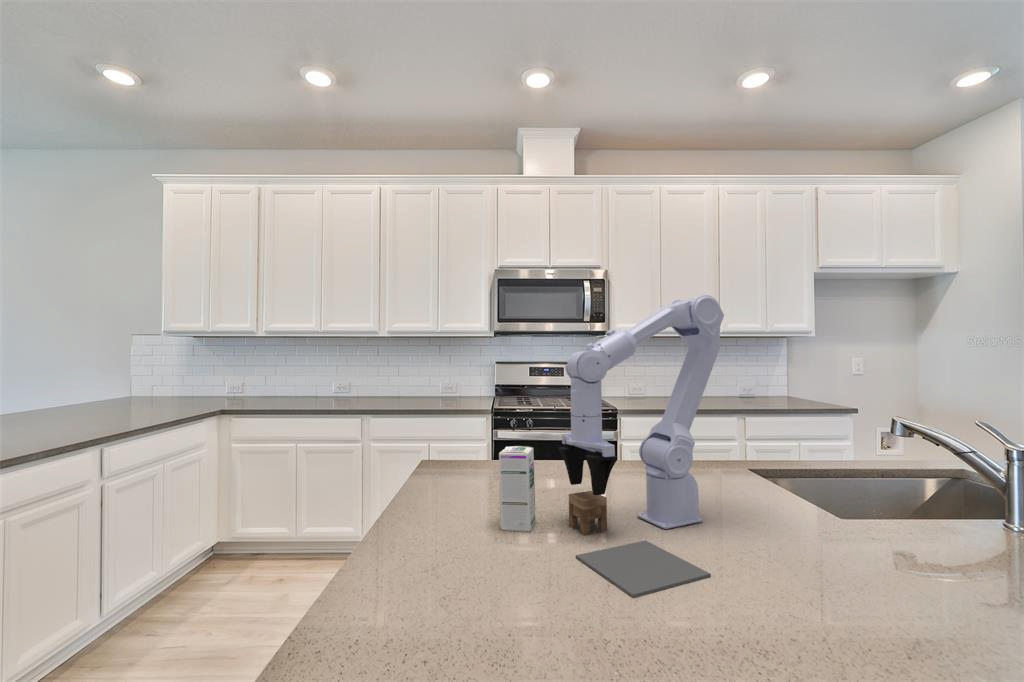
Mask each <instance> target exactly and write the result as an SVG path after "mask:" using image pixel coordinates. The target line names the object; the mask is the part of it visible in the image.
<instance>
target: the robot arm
mask: <svg viewBox="0 0 1024 682" xmlns="http://www.w3.org/2000/svg"><path fill="white" fill-rule="evenodd" d="M724 317H725V314H724V311H723V310H722V308H721V306H720V304H719V301H717V299H716V298H715V297H713V296H712V295H709V294H702V295H699V296H697V297H691V298H686V299H677V300H676V299H675V300H674V301H672V302H671V303H669V304H667V305H663V306H662V307H660V308H659V309H657V310H656V311H654V312H653V313H652V314H650V315H649V316H647V317H646V318H644V319H642V320H641V321H640V322H638V323H637V324H635V325H634V326H632V327H631V328H629V329H628V330H623V329H620V328H619V329H616V330H615V329H609V330H607V331H606V332H605V335H606V336H604V337H602V338H601V339H599V340H597V341H596V342H594V343H593V342H590V343H588V344H586V345H585V346H586V350H584V351H583V350H582V351H581V350H580V351H576V352H574V353H572V355H570V356H569V359H568V360H567V364H566V365H565V367H564V369H565V372H566V375H567V376H568V378H569V379H570V433H569V432H568V433H561V443H562V444H563V445H564V446H559V447H558V452H559V453H560V455H561V457H562V459H563V462H564V464H565V468H566V472H567V475H568V480H569V483H570V485H572V486H573V485H574V486H576V485H581V484H582V481H583V478H584V477H583V475H584V473H583V472H584V463H585V461H586V464H587V465H588V468H589V469H588V470H589V474H590V483H591V491H593V494H594V495H602V496H603V495H605V493H606V490H607V486H608V482H609V478H610V475H611V472H612V471H613V468H614V466H615V464H616V463H617V461H618V455H616V452H615V451H616V450H615V448H616V447H615V446H616V445H615V444H612V443H609V442H608V441H607V440H605V439H603V416H602V415H603V414H602V413H603V407H602V405H603V404H602V403H603V401H602V400H603V399H602V395H603V394H602V380H603V379H604V378H605V377H606V375H607V372H608V371H611V370H612V369H613V368H615V367H616V366H617V365H620V364H621V363H623V362H624V361H626V360H628V359H629V358H630V357H632V356H634V355H635V354H636V349H637V346H638V345H640V344H641V343H643V342H645V341H647V340H648V339H650V338H652V337H654V336H656V335H657V334H659V333H660V332H663V331H664V330H666V329H668V328H672V329H673V331H675V333H676V334H677V335H678V336H679V337H680V339H682V340H683V341H684V342H685V345H686V346H687V348H688V349H687V352H686V354H685V357H684V360H683V363H682V365H681V369H680V371H679V373H678V376H677V378H676V381H675V384H674V386H673V389H672V391H671V394H670V397H669V400H668V402H667V404H666V407H665V410H664V413H663V416H662V418H661V420H660V421H659V422H657V423H656V424H654V425H653V426H652V427H651V429H650V431H649V434H648V435H647V436H646V437H645V438H644V439H643V440H642V441H641V443H640V446H639V449H638V450H639V452H638V453H639V458H640V460H641V462H643V464H645V465H644V466H645V481H646V483H645V484H646V485H645V486H646V487H645V488H646V489H645V490H646V491H645V492H646V511H645V512H641V513H637V515H636V517H637V518H639V519H642V520H643V521H645V522H649V523H650V524H653V525H654V526H657V527H660V528H661V529H664V530H667V529H672V528H677V527H682V526H687V525H692V524H696V523H701V522H703V518H701V517H700V514H699V513H700V508H699V505H700V504H699V502H700V501H699V485H698V482H697V480H696V478H695V477H694V475H693V474H691V473H690V472H689V471H690V470H691V468H692V465H693V459H694V458H693V453H694V452H693V450H694V447H695V444H696V443H695V440H694V438H693V436H692V434H691V432H690V430H691V428H692V426H693V421H695V420H694V419H695V417H696V414H697V411H698V409H699V406H700V403H701V400H702V398H703V395H704V392H705V390H706V386H707V385H708V382H709V379H710V376H711V373H712V371H713V368H714V366H715V362H716V359H717V357H718V354H719V352H720V347H721V331H720V330H721V325H722V322H723V320H724ZM588 451H589V452H593V453H594V454H587V452H588Z"/></svg>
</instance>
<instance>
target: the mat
mask: <svg viewBox="0 0 1024 682" xmlns="http://www.w3.org/2000/svg"><path fill="white" fill-rule="evenodd" d="M575 558H576V560H578V561H579V562H581V563H582V564H584V565H585V566H587V567H588V568H590V569H591V570H592V571H594V572H595V573H596V574H598V575H600V576H601V577H602V578H604V579H605V580H607V581H608V582H609V583H611V584H613V585H614V586H615V587H616V588H618V589H619V590H621V591H622V592H623V593H625V594H627V595H628V596H629V597H631V598H633V599H634V598H638V597H641V596H645V595H649V594H652V593H655V592H660V591H663V590H667V589H670V588H675V587H679V586H680V585H681V586H682V585H685V584H688V583H692V582H696V581H699V580H703V579H707V578H711V576H712V573H710V572H708V571H706V570H704V569H703V568H701V567H699V566H698V565H695V564H693V563H690V562H688V560H684V559H683V558H682V557H679V556H677V555H675V554H673V553H672V552H669V551H667V550H666V549H664V548H661V547H659V546H658V545H656V544H654V543H651V542H650V541H648V540H642V541H641V540H640V541H637V542H636V541H635V542H633V543H632V542H631V543H628V544H623V545H617V546H613V547H609V548H608V547H607V548H604V549H599V550H595V551H593V550H592V551H590V552H585V553H580V554H576V555H575Z"/></svg>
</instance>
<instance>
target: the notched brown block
mask: <svg viewBox="0 0 1024 682" xmlns="http://www.w3.org/2000/svg"><path fill="white" fill-rule="evenodd" d="M607 500H608V498H607V497H606V496H604V495H603V494H602V495H594V494H593V491H592V490H587V491H579V492H575V493H573V492H572V493H569V494H568V525H569V526H568V527H570V528H571V529H576V528H579V527H580V529H579V531H580V532H579V533H580V534H581V535H583V536H586V535H590V534H591V532H590V531H591V530H590V529H591V528H590V527H591V526H593V525H596V519H597V530H598V531H600V532H601V533H603V532H607V531H608V501H607Z"/></svg>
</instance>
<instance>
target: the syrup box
mask: <svg viewBox="0 0 1024 682" xmlns="http://www.w3.org/2000/svg"><path fill="white" fill-rule="evenodd" d="M534 458H535V456H534V447H532V446H527V445H526V446H524V445H514V446H505V447H504V449H502V450H501V451H500V452H499V453H498V462H499V464H498V465H499V466H498V467H499V469H498V471H499V473H498V474H499V476H498V477H499V504H500V505H499V509H500V510H499V511H500V512H499V513H500V516H499V517H500V519H499V520H500V529H501V530H502V531H510V532H528V533H530V532H531V530H532V528H533V527H534V524H535V523H536V495H535V494H536V491H535V490H536V489H535V461H534V460H535V459H534Z"/></svg>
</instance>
